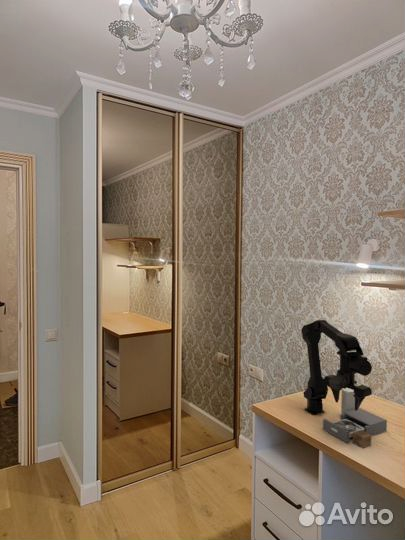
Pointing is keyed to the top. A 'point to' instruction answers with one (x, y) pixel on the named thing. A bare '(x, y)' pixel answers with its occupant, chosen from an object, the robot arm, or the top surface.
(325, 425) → the tray
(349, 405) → the skincare box
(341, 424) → the disc
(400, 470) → the top surface
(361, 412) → the housing
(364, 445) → the walnut block
